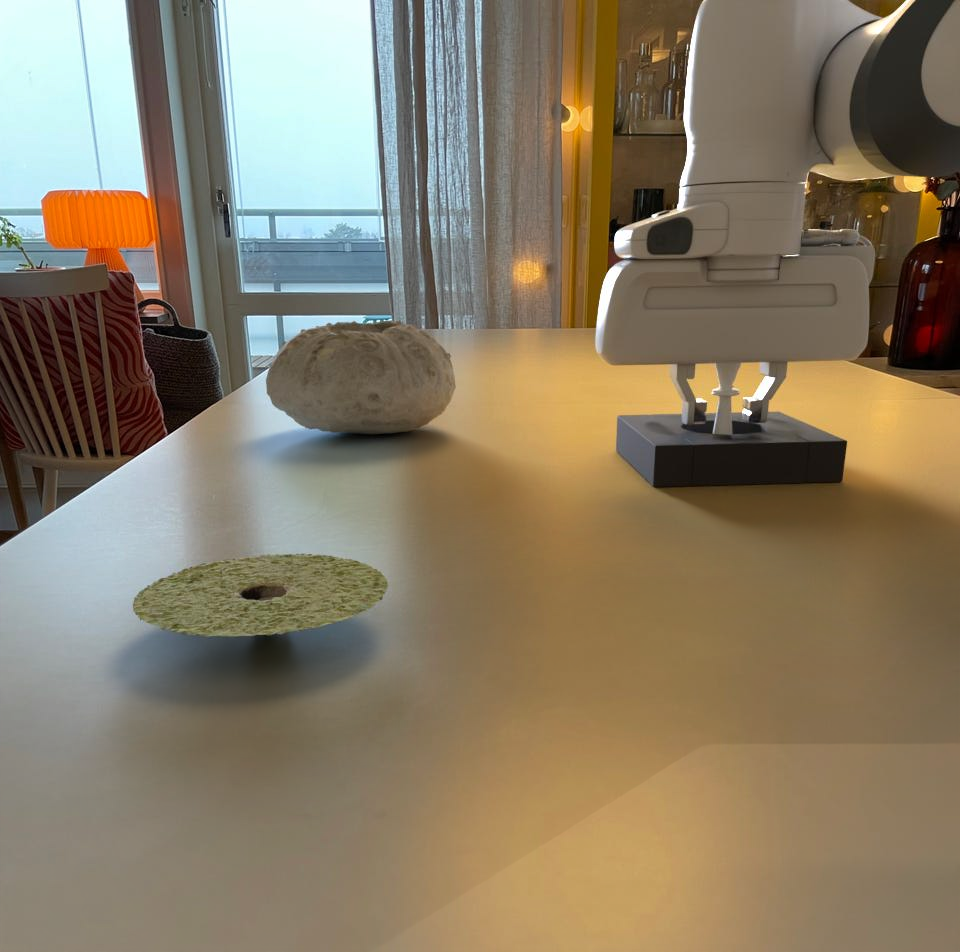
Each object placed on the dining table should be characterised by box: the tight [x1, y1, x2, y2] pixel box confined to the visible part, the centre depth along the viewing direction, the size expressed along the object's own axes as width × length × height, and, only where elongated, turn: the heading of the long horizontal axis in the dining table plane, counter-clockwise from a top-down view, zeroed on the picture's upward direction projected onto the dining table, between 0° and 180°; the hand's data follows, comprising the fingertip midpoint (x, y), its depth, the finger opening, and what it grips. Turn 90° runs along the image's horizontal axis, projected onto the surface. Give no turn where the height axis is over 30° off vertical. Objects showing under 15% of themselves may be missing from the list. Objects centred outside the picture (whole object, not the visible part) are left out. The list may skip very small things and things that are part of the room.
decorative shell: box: [265, 320, 456, 435], centre depth 92 cm, size 18×18×10 cm
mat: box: [132, 553, 389, 638], centre depth 44 cm, size 11×11×2 cm
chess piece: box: [711, 363, 742, 434], centre depth 75 cm, size 5×5×10 cm
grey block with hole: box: [615, 411, 848, 488], centre depth 76 cm, size 14×14×3 cm
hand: (723, 422), depth 75 cm, fingers open, 3 cm apart
